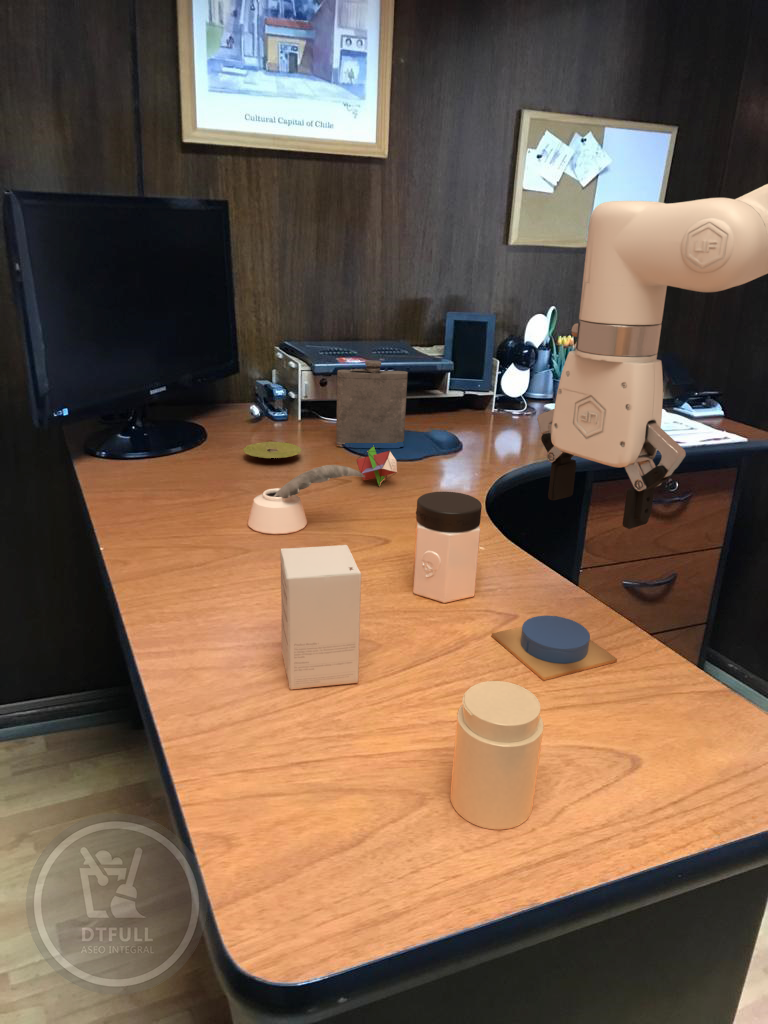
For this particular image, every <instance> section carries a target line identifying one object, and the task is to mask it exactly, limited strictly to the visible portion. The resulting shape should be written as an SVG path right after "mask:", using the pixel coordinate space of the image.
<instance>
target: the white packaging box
mask: <svg viewBox="0 0 768 1024" xmlns="http://www.w3.org/2000/svg"><path fill="white" fill-rule="evenodd" d="M279 551H280V553H279V554H280V555H279V556H280V557H279V558H280V595H281V596H280V598H281V599H280V602H281V603H280V605H281V606H280V607H281V608H280V609H281V611H280V613H281V614H280V615H281V616H280V617H281V620H280V622H281V632H280V633H281V637H280V639H281V640H280V641H281V654H282V659H283V663H284V664H283V665H284V669H285V673H286V678H287V684H288V687H289V690H290V691H291V690H298V689H300V690H301V689H307V688H308V689H309V688H319V687H329V686H336V685H337V686H338V685H349V684H358V683H359V675H360V673H359V672H360V671H359V670H360V639H361V637H360V636H361V635H360V634H361V605H362V603H361V599H362V572H361V571H360V569H359V567H358V565H357V563H356V561H355V558H354V556H353V554H352V552H351V550H350V547H349V546H348V545H347V544H339V545H337V544H336V545H323V546H321V545H320V546H306V547H304V546H303V547H289V548H288V547H287V548H286V547H285V548H283V547H282V548H280V550H279Z"/></svg>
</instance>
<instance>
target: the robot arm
mask: <svg viewBox="0 0 768 1024" xmlns="http://www.w3.org/2000/svg"><path fill="white" fill-rule="evenodd" d="M584 259H585V260H584V267H583V277H582V287H581V296H580V305H579V315H578V323H574V324H573V325H572V327H571V330H570V331H571V335H572V336H573V337H575V338H576V342H575V350H570V351H568V354H567V356H566V359H565V362H564V364H563V367H562V368H563V369H562V371H561V374H560V378H559V383H558V387H557V392H556V397H555V401H554V408H552V409H550V410H548V411H545V412H543V413H540V414H538V415H537V424H538V428H539V431H540V434H541V437H540V440H541V444H542V445H543V446H544V449H545V450H546V452H547V453H546V460H547V461H548V462H549V463H551V465H550V476H549V484H548V485H549V486H548V495H547V498H548V500H551V501H558V500H563V499H566V498H570V497H572V496H573V495H574V489H575V478H576V472H577V471H576V470H577V460H576V459H572V458H573V457H574V456H575V457H578V458H582V459H585V460H589V461H592V462H595V463H599V464H602V465H605V466H609V467H613V468H624V470H625V472H626V473H627V476H628V478H629V480H630V482H631V484H632V487H630V488H628V489H627V490H626V495H625V501H624V502H625V503H624V510H623V517H622V526H623V528H626V529H628V530H630V529H631V530H632V529H634V528H638V527H640V526H644V525H647V524H648V522H649V519H650V518H651V515H652V508H653V502H654V496H655V489H656V488H657V487H660V486H661V485H662V483H664V482H666V481H667V480H668V479H669V478H671V477H672V476H673V475H674V474H675V470H677V469H678V467H679V466H680V464H681V463H682V462H683V460H684V459H685V458H686V455H687V453H686V450H685V449H684V447H682V446H681V445H680V444H679V443H678V442H677V441H675V439H674V438H672V437H671V436H670V435H669V434H668V433H667V432H666V431H665V430H664V429H663V428H661V427H662V417H663V401H664V400H663V399H664V383H663V382H664V380H663V379H664V378H663V363H662V360H661V359H657V358H658V352H659V346H660V337H661V330H662V323H663V322H662V321H663V317H664V309H665V302H666V296H667V290H668V289H667V288H668V287H672V288H679V289H682V290H687V291H691V292H692V291H693V292H700V293H717V292H721V291H725V290H728V289H732V288H734V287H739V286H741V285H744V284H747V283H749V282H751V281H753V280H756V279H758V278H760V277H764V276H765V275H767V274H768V183H766V184H764V185H762V186H760V187H758V188H756V189H754V190H752V191H749V192H748V193H745V194H743V195H741V196H739V197H737V198H730V197H709V198H701V199H695V200H694V199H693V200H687V201H680V202H673V203H672V202H671V203H666V202H661V201H652V200H651V201H650V200H649V201H648V200H611V201H605V202H602V203H600V204H598V205H597V206H595V207H594V209H593V210H592V212H591V214H590V217H589V223H588V229H587V240H586V247H585V257H584ZM657 452H659V453H660V456H661V459H660V460H659V462H658V464H657V465H656V464H655V462H654V459H655V458H656V455H657Z"/></svg>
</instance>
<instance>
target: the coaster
mask: <svg viewBox="0 0 768 1024" xmlns="http://www.w3.org/2000/svg"><path fill="white" fill-rule="evenodd" d="M521 633H522V626H519V627H514V628H510V629H505V630H501V631H496V632H492V633H491V635H490V636H491V638H492V639H494V640H495V641H496V642H497V643H498V644H500V645H501V646H502V647H503V648H504V649H506V650H507V651H508V652H509V653H510V654H512V655H513V656H514V657H515V658H516V659H517V660H519V662H521V663H522V664H523V666H524V665H525V666H526V667H527V669H529V670H530V671H531V672H532V673H534V674H535V675H536V676H537V677H538V678H540V680H542V681H543V682H544V681H547V680H551V679H557V678H560V677H564V676H567V675H571V674H575V673H579V672H584V671H587V670H590V669H594V668H599V667H602V666H606V665H611V664H614V663H617V662H618V658H617V657H616V656H614V654H611V653H610V652H609V651H607V650H606V649H604V648H603V647H602V646H600V645H599V644H598V643H596V642H595V641H593V640H592V639H590V641H589V647H588V653H587V655H586V657H585V658H583V659H582V660H580V661H577V662H574V663H565V664H561V663H552V662H547V661H543V660H540V659H538V658H535V657H533V656H532V655H530V654H529V653H527V652H526V651H525V650H524V649H523V647H522V646H521Z"/></svg>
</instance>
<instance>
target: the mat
mask: <svg viewBox="0 0 768 1024" xmlns="http://www.w3.org/2000/svg"><path fill="white" fill-rule="evenodd" d="M242 451H243V452H244V454H246V455H248V456H251V457H256V458H257V457H258V458H263V459H271V458H274V459H275V458H276V459H277V458H278V459H281V458H289V457H290V458H291V457H293V456H297V455H299V454H301V453H302V448H301V447H300V446H298V445H296V444H294V443H290V442H283V441H263V442H254V443H251V444H248V445H246V446H245V447H243V449H242Z"/></svg>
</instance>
